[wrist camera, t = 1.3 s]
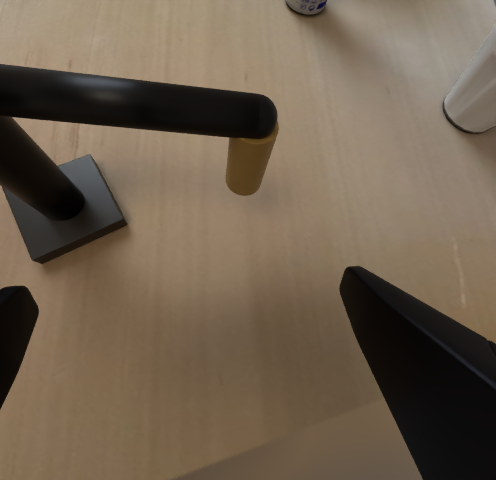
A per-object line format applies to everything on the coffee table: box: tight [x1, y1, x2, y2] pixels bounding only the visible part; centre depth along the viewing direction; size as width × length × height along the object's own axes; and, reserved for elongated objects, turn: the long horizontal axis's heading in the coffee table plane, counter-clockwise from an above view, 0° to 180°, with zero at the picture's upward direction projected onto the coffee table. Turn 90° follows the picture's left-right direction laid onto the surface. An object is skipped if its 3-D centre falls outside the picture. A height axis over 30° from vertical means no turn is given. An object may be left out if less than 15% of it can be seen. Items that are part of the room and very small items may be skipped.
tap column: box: [0, 116, 127, 264], centre depth 17 cm, size 7×7×11 cm
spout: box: [0, 64, 279, 196], centre depth 14 cm, size 17×4×7 cm, turn 90°
